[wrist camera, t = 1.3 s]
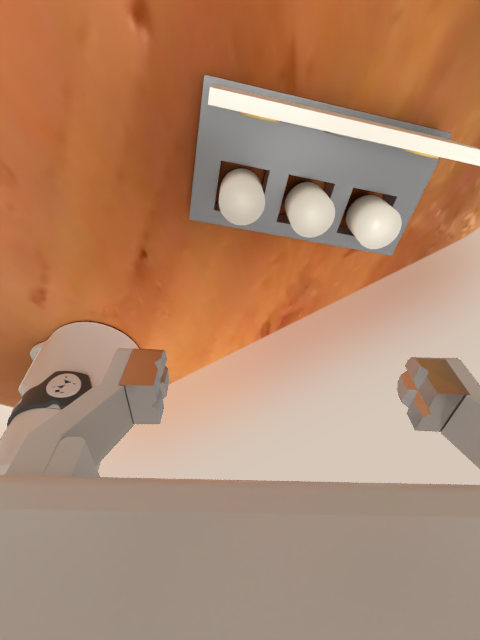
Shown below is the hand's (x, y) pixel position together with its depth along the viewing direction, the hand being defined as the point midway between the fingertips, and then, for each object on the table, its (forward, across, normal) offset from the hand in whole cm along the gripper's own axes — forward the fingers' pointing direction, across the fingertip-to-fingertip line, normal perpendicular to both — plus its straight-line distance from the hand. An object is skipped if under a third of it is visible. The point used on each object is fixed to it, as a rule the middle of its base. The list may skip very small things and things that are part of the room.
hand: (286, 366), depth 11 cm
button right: (+28, -12, +5) cm, 31 cm away
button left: (+28, +1, +2) cm, 28 cm away
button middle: (+28, -6, +3) cm, 29 cm away
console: (+31, -6, +1) cm, 32 cm away
